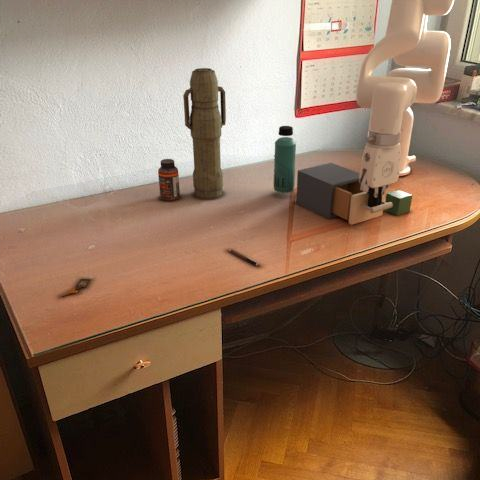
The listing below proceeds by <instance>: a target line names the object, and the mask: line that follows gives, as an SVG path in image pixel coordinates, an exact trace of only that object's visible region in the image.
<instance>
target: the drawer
mask: <svg viewBox="0 0 480 480" xmlns="http://www.w3.org/2000/svg"><path fill="white" fill-rule="evenodd" d="M360 187H361V183H360V182H359V181H355V182H351V183H347V184H344V185H340V186H336V187H334V192H333V203H332V213H333V214H335V215H337V216H336V217H340V218H342V219H344V220H346V221H348V224H349V225H351V226H352V225H356V224H358V223H359V224H360V223H362V222H365V221H368V220H371V219H374V218H379V217H381V216H383V213H384V211H385V209H388V208H392V206H393V204H392V202H388V203H387V202H385V200H386V192H387V189H386V190H385V194H384V195H383V196H382V202H381V205H378V206H375V207H371V208H370V207H368V198H369V195H368V194H367V192H363V191H361V190H360Z"/></svg>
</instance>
